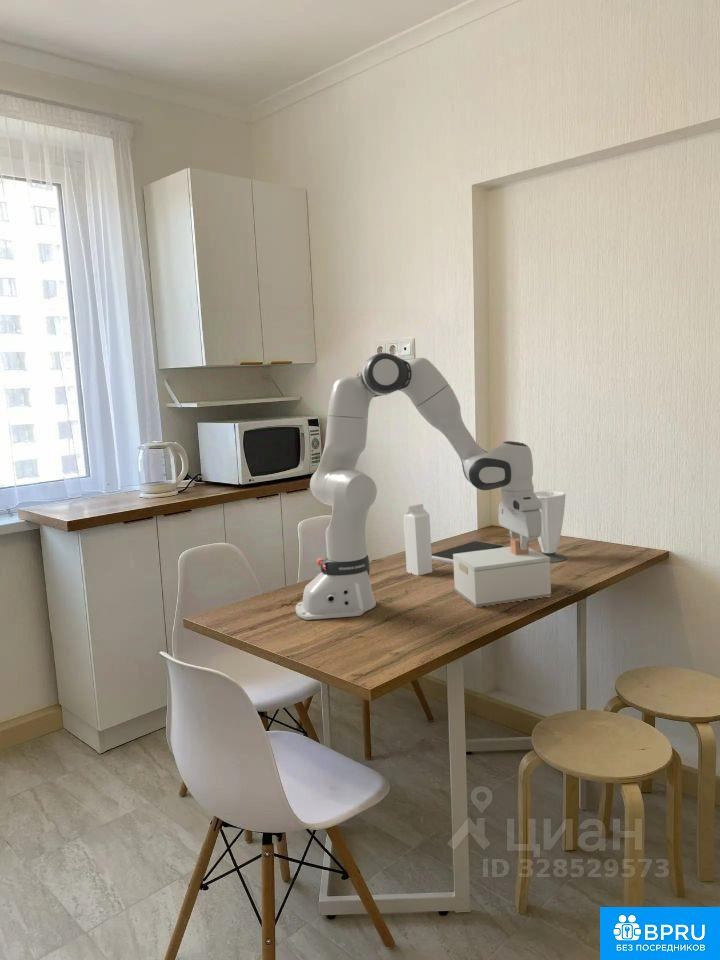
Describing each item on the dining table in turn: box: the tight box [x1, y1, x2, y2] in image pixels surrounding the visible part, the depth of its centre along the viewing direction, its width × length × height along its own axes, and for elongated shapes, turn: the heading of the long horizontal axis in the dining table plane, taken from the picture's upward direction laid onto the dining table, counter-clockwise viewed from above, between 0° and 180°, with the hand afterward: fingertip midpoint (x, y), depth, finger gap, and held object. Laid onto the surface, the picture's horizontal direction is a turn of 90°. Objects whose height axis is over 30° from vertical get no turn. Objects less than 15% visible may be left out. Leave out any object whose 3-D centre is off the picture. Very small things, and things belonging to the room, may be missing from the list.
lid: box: [453, 537, 550, 571], centre depth 199 cm, size 22×16×5 cm
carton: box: [452, 558, 552, 608], centre depth 200 cm, size 22×16×10 cm
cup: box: [534, 490, 568, 564], centre depth 234 cm, size 12×12×22 cm
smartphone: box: [432, 540, 505, 565], centre depth 249 cm, size 13×27×2 cm, turn 132°
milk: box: [402, 503, 433, 577], centre depth 228 cm, size 6×6×22 cm
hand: (519, 547), depth 201 cm, fingers closed on lid, 3 cm apart
